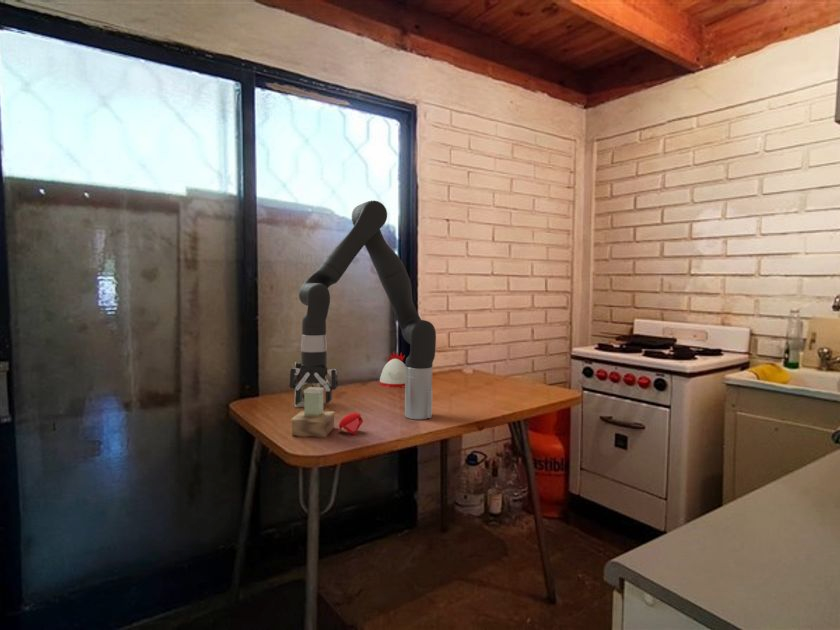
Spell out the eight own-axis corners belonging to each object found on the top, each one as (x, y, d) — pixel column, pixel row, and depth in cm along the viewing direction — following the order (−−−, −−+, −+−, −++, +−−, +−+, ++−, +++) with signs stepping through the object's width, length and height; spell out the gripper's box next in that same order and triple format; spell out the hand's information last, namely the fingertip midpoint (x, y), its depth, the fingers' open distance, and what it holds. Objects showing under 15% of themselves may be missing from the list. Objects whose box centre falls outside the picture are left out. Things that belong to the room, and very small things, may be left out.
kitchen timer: (410, 388, 217) (410, 354, 216) (378, 387, 217) (379, 353, 216) (410, 381, 231) (410, 349, 230) (380, 381, 231) (381, 349, 230)
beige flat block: (335, 427, 155) (335, 411, 155) (326, 437, 145) (326, 420, 144) (302, 425, 156) (302, 410, 156) (290, 436, 145) (290, 419, 145)
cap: (365, 418, 154) (349, 408, 154) (366, 417, 148) (349, 406, 148) (351, 441, 151) (334, 430, 151) (351, 440, 146) (334, 429, 146)
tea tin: (323, 413, 152) (323, 387, 152) (319, 417, 148) (319, 390, 147) (308, 413, 153) (308, 387, 152) (303, 417, 148) (303, 390, 147)
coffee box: (294, 407, 179) (294, 363, 178) (294, 403, 185) (294, 360, 184) (320, 406, 181) (320, 362, 180) (319, 402, 187) (319, 360, 186)
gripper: (340, 348, 152) (339, 400, 153) (295, 347, 153) (294, 399, 154) (334, 351, 145) (333, 406, 145) (286, 350, 146) (286, 404, 147)
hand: (313, 402), depth 150 cm, fingers open, 8 cm apart
